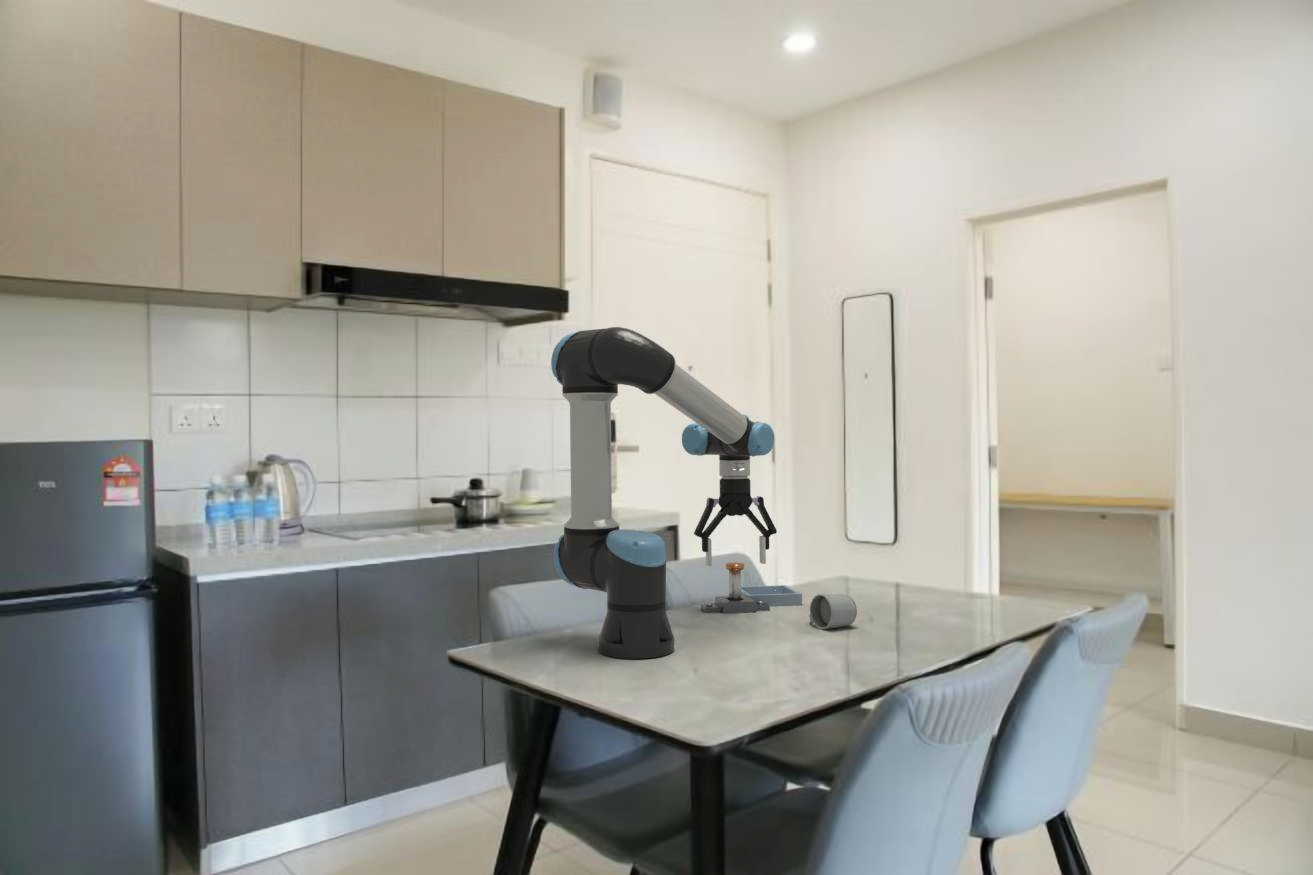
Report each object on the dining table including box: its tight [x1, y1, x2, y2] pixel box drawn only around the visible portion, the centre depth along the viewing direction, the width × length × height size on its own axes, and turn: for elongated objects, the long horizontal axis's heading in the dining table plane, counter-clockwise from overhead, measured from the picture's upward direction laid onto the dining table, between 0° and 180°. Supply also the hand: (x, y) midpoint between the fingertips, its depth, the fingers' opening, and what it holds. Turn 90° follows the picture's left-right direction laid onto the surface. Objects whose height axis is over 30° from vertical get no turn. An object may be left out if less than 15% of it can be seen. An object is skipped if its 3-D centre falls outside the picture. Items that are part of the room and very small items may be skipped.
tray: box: [741, 584, 803, 607], centre depth 232 cm, size 14×13×3 cm
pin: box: [725, 562, 745, 601], centre depth 221 cm, size 4×4×11 cm
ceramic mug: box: [808, 593, 858, 630], centre depth 203 cm, size 11×8×8 cm
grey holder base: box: [700, 595, 771, 614], centre depth 221 cm, size 16×8×3 cm, turn 100°
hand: (735, 564), depth 221 cm, fingers open, 13 cm apart
